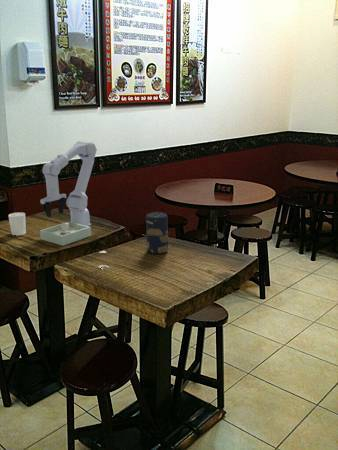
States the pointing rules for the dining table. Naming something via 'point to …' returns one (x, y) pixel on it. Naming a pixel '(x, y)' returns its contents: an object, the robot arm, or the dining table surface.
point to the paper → (102, 265)
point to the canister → (157, 232)
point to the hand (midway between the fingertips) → (55, 215)
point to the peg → (65, 228)
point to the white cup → (17, 223)
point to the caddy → (74, 234)
